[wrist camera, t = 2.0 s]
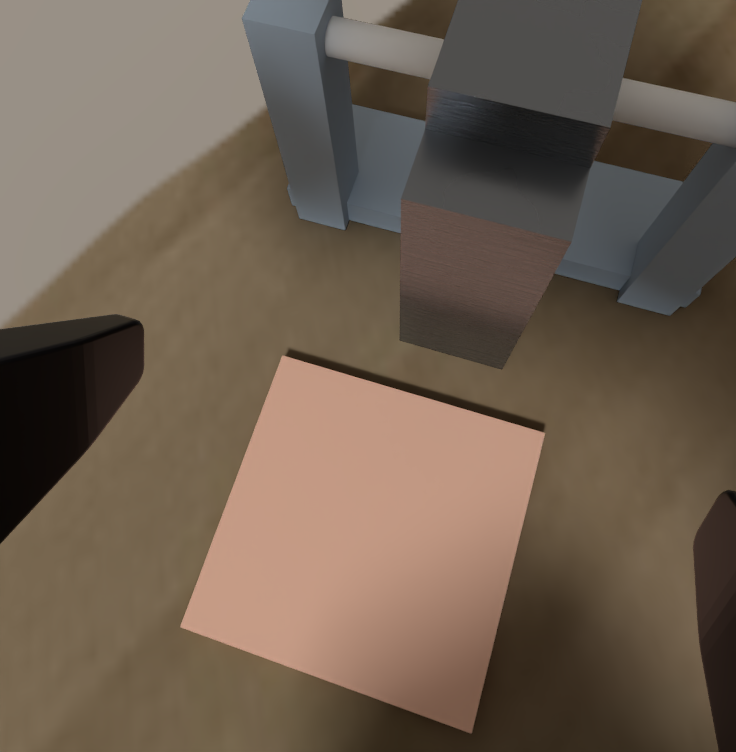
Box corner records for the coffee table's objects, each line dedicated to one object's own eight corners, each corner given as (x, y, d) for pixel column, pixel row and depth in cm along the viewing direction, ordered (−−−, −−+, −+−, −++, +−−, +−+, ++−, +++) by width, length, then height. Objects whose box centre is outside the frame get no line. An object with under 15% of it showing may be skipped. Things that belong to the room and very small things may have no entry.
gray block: (547, 203, 25) (656, -60, 14) (502, 369, 23) (590, 207, 12) (451, 179, 25) (490, -90, 15) (399, 340, 23) (401, 161, 13)
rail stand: (704, 207, 24) (892, -8, 15) (683, 319, 23) (874, 158, 14) (327, 117, 27) (289, -121, 17) (287, 215, 25) (224, 14, 16)
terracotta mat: (542, 435, 22) (545, 433, 22) (470, 730, 20) (471, 733, 19) (284, 358, 23) (282, 355, 23) (184, 625, 21) (180, 627, 20)
